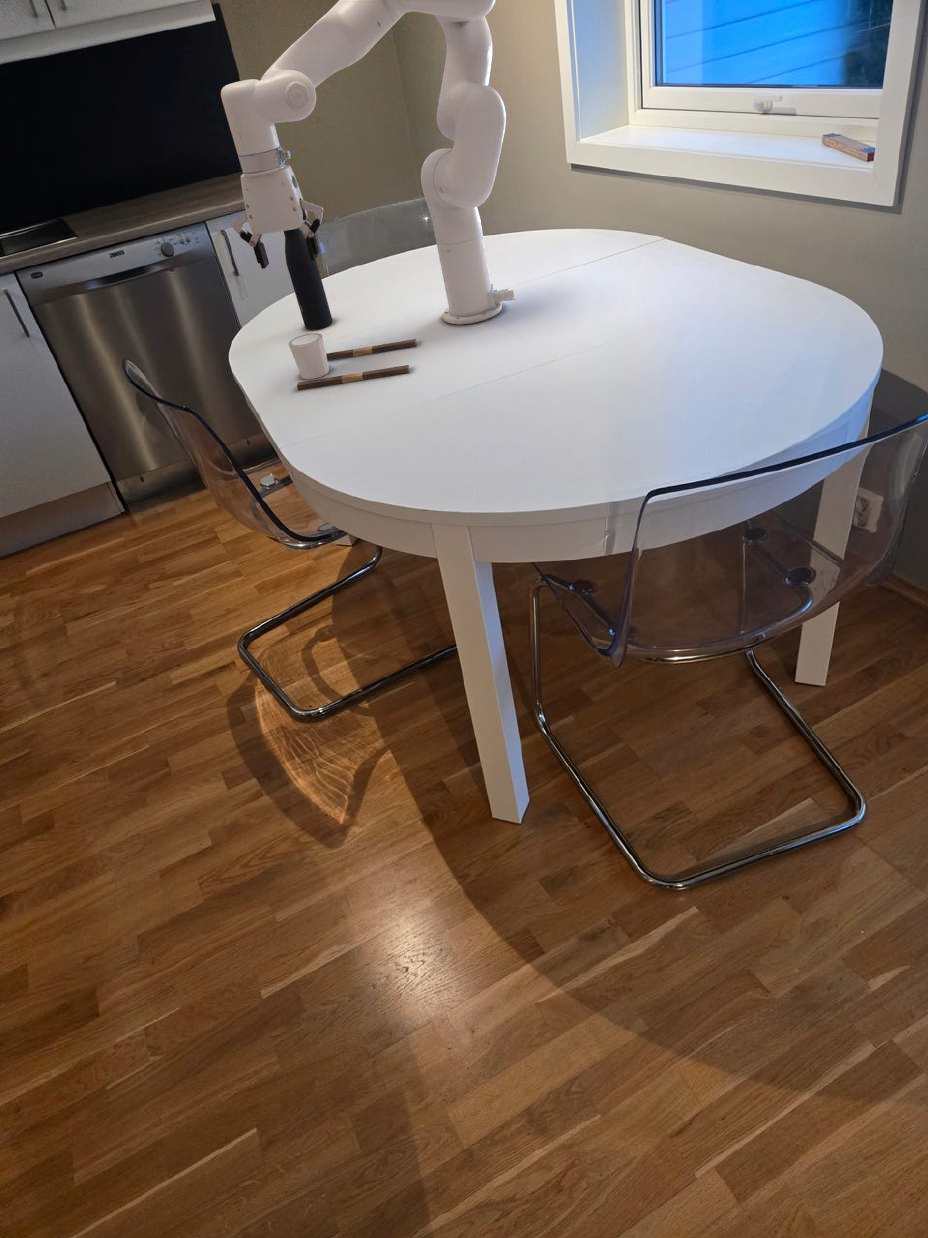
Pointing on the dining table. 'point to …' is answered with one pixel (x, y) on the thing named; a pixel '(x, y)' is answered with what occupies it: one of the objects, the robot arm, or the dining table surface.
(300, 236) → the wine bottle
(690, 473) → the dining table surface
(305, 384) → the guide rails
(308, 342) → the white cup
